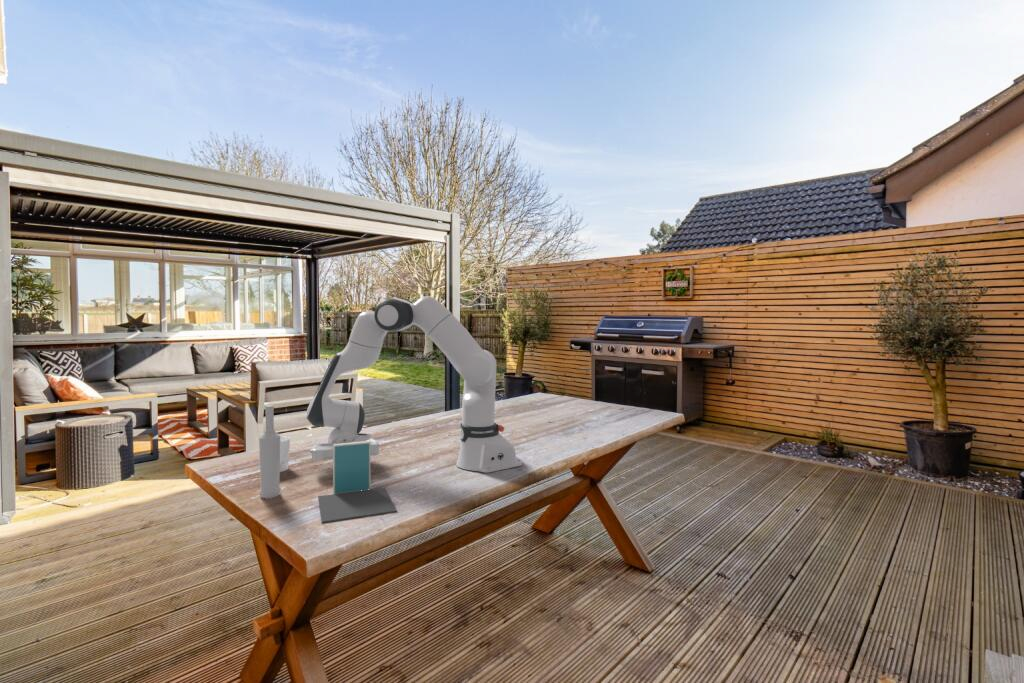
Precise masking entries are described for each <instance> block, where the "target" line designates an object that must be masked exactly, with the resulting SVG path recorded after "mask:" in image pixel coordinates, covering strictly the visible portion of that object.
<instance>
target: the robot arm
mask: <svg viewBox="0 0 1024 683" xmlns="http://www.w3.org/2000/svg"><path fill="white" fill-rule="evenodd" d="M414 326H416V327H417V328H419V329H420V330H421V331H422V332H423V333H424V334H425V335H426V336H427V337H428V338H429V340H431V341H432V342H433V344H434V345H436V346H437V348H438V349H439V350H440V351H441V352H442V353H443V355H444V356H445V357H446V359H447V360H448V361H449V362H450V364H451V365H452V367H453V368H454V369H455V370H456V371H457V373H458V374H459V375H460V376H461V377H462V379H463V391H462V402H461V405H462V406H461V423H460V429H459V438H460V447H459V453H458V457H457V461H456V466H457V467H458V468H459V469H463V470H467V471H473V472H474V471H475V472H481V473H492V472H498V471H502V470H508V469H511V468H516V467H521V466H523V460H522V458H520V456H517V454H516V448H515V446H514V445H513V443H511V442H510V440H508V439H507V438H506V437H504V436H503V435H502V434H500V432H501V433H503V432H504V431H505V427H504V426H503V425H501V424H497V423H496V422H495V414H496V413H495V412H496V411H495V410H496V408H495V407H496V406H495V405H496V402H495V401H496V387H497V385H496V383H497V360H496V357H495V355H493V353H492V352H491V351H489V350H486V349H484V348H482V347H481V346H480V344H479V343H478V342H477V341H476V339H475V338H474V336H472V335H471V333H470V332H469V331H468V330H467V328H466V327H465V326H464V325H463V324H462V323H461V322H460V320H458V318H456V316H454V314H453V313H452V312H451V311H450V310H449V309H447V307H445V305H444V304H442V303H441V302H440V301H438V300H437V299H436V298H434V297H433V296H430V295H425V296H422V297H420V298H418V299H417V300H415V301H414V302H412V301H411V300H409V299H405V298H398V297H397V298H387V299H384V300H382V301H381V302H379V303H378V305H377V306H376V307H375V310H373V311H372V310H365V311H363V312H361V313H359V314H358V316H357V318H356V319H355V322H354V324H353V327H352V329H351V332H350V335H349V338H348V342H347V344H346V346H345V347H344V349H342V350H341V351H339V352H336V353H335V354H334V355H333V357H332V359H331V361H330V362H329V364H328V366H327V368H326V371H325V372H324V375H323V377H322V379H321V381H320V384H319V386H318V387H317V390H316V392H315V394H314V396H313V398H312V399H311V401H310V402H309V404H308V407H307V410H306V420H307V421H308V422H309V423H310V424H311V425H312V426H313V427H323V428H324V427H328V428H330V430H329V432H328V435H327V443H318V444H315V445H313V446H312V447H311V448H309V453H311V460H312V461H313V462H321V461H333V444H340V443H352V442H363V441H370V442H371V449H370V457H372V456H377V455H379V453H380V443H379V442H378V441H377V440H376V438H374V437H372V435H371V434H370V433H361V431H362V429H363V427H364V425H365V418H366V417H365V415H366V413H365V410H364V407H363V406H362V403H360V402H358V401H353V400H347V399H345V400H344V399H338V398H337V399H336V398H332V397H330V394H331V392H332V390H333V388H334V385H335V383H336V381H337V379H338V378H339V377H340V376H341V375H342V374H345V373H349V372H354V371H359V370H365V369H367V368H370V367H371V366H373V365H374V364H375V363H376V362H377V361H378V360H379V357H380V354H381V352H382V349H383V346H384V345H383V344H384V340H385V338H386V335H387V334H388V333H389V332H391V333H392V332H393V333H394V332H402V331H406V330H408V329H411V328H412V327H414Z"/></svg>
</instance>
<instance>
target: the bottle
mask: <svg viewBox="0 0 1024 683" xmlns="http://www.w3.org/2000/svg"><path fill="white" fill-rule="evenodd" d="M274 408H275V406H274V404H273V405H272V404H271V405H270V404H267V405H265V430H264V431H263V433H262V434H261V435H260V436H259V438H258V439H259V440H258V443H259V472H260V473H259V474H260V476H259V478H260V480H259V481H260V489H259V496H260V498H261V499H264V498H265V500H267V499H268V498H269V499H273V497H274V498H277V497H279V496H280V495H281V487H280V479H281V477H280V476H281V475H280V474H281V472H280V436H281V435H280V434H279V433H277V432H276V430H275V429H274V428H275V425H274V424H275V423H274V422H275V421H274V419H275V418H274V417H275V416H274V412H275V411H274ZM278 495H279V496H278ZM276 496H277V497H276Z"/></svg>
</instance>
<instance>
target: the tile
mask: <svg viewBox="0 0 1024 683" xmlns="http://www.w3.org/2000/svg"><path fill="white" fill-rule="evenodd" d="M370 449H371V442H370V441H363V442H352V443H340V444H333V460H332V494H339V493H347V492H354V491H361V490H368V489H371V456H370Z"/></svg>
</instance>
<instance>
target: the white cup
mask: <svg viewBox="0 0 1024 683" xmlns="http://www.w3.org/2000/svg"><path fill="white" fill-rule="evenodd" d="M290 443H291V437H289V436H286V435H283V436H282V435H280V473H283V472H285V471H287V470H289V460H290V452H291V450H290V449H291V448H290V446H291V444H290Z"/></svg>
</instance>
